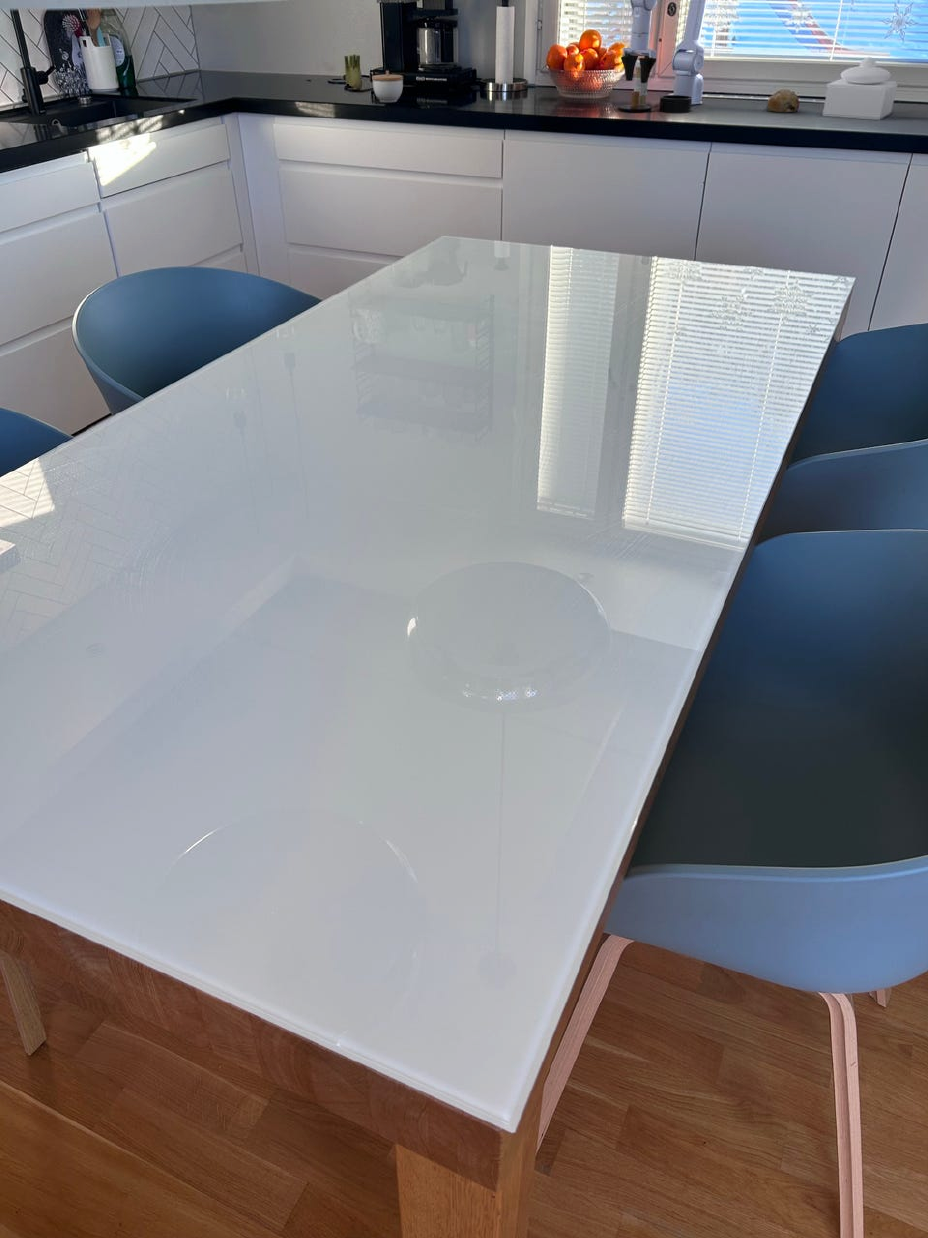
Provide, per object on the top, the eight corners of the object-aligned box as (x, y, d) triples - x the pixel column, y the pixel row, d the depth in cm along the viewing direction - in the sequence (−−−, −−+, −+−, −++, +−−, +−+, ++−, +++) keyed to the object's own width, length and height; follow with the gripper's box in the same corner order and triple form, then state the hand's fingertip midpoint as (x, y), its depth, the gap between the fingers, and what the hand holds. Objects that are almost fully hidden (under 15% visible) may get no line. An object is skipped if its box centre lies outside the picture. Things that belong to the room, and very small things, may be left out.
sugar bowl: (404, 98, 340) (403, 68, 335) (403, 102, 331) (402, 72, 326) (374, 99, 340) (372, 69, 335) (372, 103, 331) (371, 72, 326)
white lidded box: (879, 119, 294) (892, 60, 285) (820, 115, 302) (831, 57, 293) (891, 112, 306) (904, 55, 297) (834, 109, 314) (845, 53, 305)
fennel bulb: (345, 91, 360) (343, 54, 353) (349, 89, 364) (346, 53, 357) (360, 91, 359) (358, 54, 352) (363, 89, 363) (361, 53, 356)
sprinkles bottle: (638, 104, 325) (642, 59, 318) (648, 105, 323) (653, 60, 315) (629, 105, 323) (633, 60, 315) (639, 107, 320) (643, 61, 312)
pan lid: (628, 107, 320) (630, 88, 317) (657, 109, 314) (659, 90, 311) (611, 110, 313) (612, 91, 310) (639, 113, 307) (641, 94, 304)
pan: (668, 107, 319) (670, 94, 316) (696, 110, 313) (697, 96, 311) (653, 110, 312) (654, 97, 310) (680, 113, 307) (682, 99, 305)
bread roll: (774, 125, 310) (786, 101, 303) (757, 106, 314) (768, 82, 307) (797, 122, 313) (809, 99, 307) (780, 104, 318) (791, 80, 311)
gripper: (616, 31, 305) (613, 80, 313) (645, 34, 294) (640, 84, 302) (633, 31, 308) (629, 78, 315) (663, 33, 297) (658, 83, 305)
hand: (636, 81), depth 309 cm, fingers open, 7 cm apart
